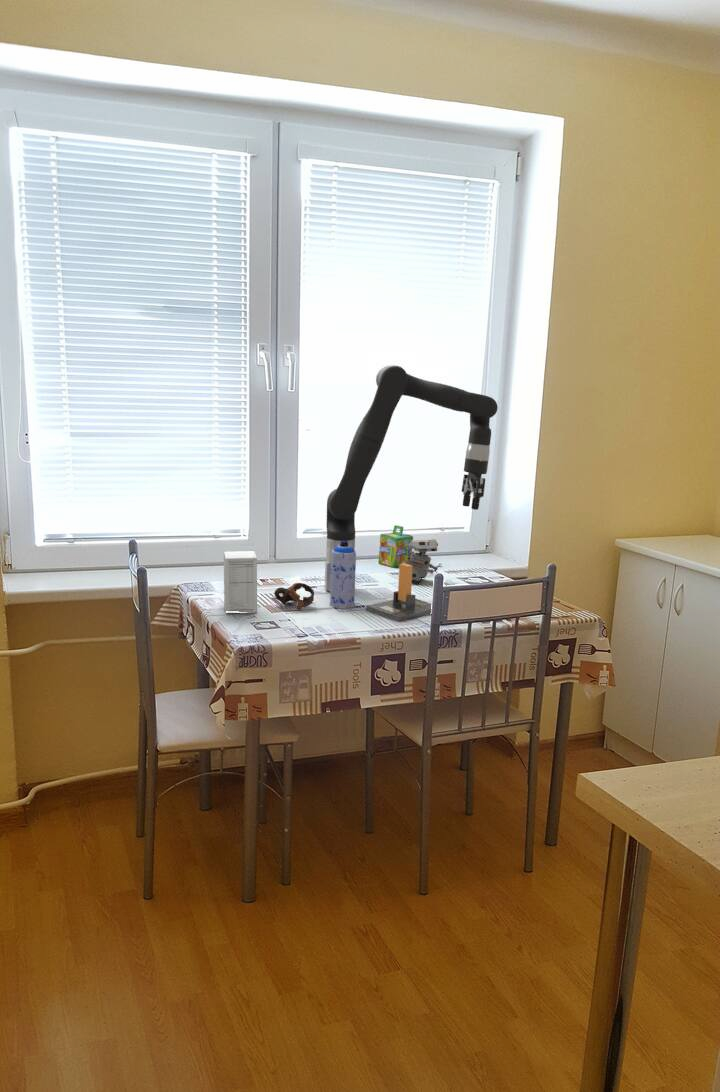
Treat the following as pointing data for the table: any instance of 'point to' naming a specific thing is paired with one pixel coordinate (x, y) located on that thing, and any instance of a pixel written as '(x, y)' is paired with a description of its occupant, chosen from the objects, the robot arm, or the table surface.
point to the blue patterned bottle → (343, 576)
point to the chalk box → (394, 548)
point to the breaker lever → (404, 582)
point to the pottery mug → (295, 595)
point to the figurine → (421, 558)
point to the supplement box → (240, 581)
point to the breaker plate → (401, 608)
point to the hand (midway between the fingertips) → (470, 507)
